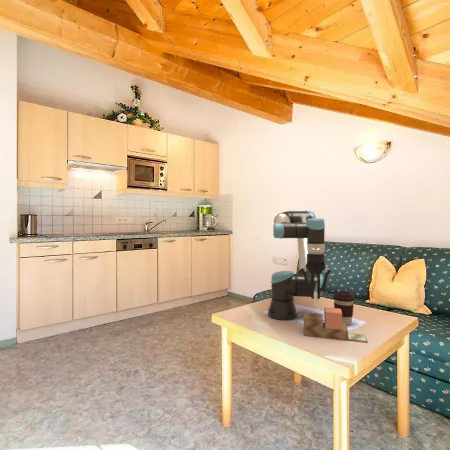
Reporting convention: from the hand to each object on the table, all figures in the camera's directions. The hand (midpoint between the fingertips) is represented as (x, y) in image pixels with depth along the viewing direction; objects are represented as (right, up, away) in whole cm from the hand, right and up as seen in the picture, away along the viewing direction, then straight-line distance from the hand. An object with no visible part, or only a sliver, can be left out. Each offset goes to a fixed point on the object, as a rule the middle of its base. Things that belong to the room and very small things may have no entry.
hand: (315, 305), depth 131 cm
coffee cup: (+18, -12, +13) cm, 26 cm away
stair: (+7, -12, -2) cm, 15 cm away
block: (+3, -5, -1) cm, 6 cm away
